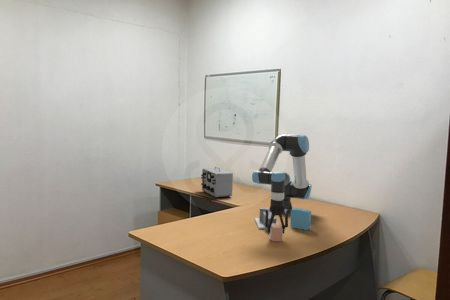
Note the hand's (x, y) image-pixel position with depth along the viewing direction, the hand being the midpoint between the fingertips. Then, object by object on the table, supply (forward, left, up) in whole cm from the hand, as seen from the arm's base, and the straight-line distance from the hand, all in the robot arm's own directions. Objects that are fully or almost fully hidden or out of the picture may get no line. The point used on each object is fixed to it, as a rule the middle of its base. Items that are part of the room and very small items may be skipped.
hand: (275, 238), depth 190 cm
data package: (-20, -21, -1) cm, 29 cm away
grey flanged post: (0, -26, 0) cm, 26 cm away
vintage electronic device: (+33, -115, -1) cm, 119 cm away
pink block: (0, 0, 0) cm, 0 cm away
